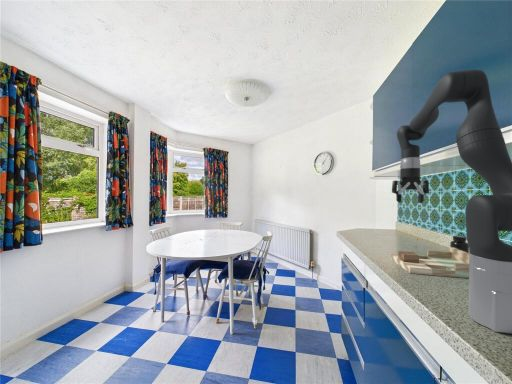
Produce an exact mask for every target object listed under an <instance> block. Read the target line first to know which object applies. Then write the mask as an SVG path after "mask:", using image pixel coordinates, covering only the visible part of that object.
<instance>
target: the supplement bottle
mask: <svg viewBox="0 0 512 384" xmlns="http://www.w3.org/2000/svg"><path fill="white" fill-rule="evenodd" d="M450 247H452V248H456V249H459V250H461V251H464V252H467V253H469V245H468V242H467V236H464V235H463V236H462V235H453V236H452V241H450V245H449V248H450Z"/></svg>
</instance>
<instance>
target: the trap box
mask: <svg viewBox="0 0 512 384" xmlns="http://www.w3.org/2000/svg"><path fill="white" fill-rule="evenodd" d="M390 259H391V260H392V261H393V262H395V263H396V264H397V265H398V266H400V267H401V268H402V269H404V270H405V271H406V272H408V273H409V274H413V275H427V276H439V277H450V278H460V279H462V278H463V279H469V253H467V252H464V251H461V250H459V249H456V248H452V247H450V246H449V251H447V250H429V249H428V250H427V251H426V255H419V263H410V262H403V261H402V260H400V259H399V258H398V253H390Z"/></svg>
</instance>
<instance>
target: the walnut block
mask: <svg viewBox="0 0 512 384" xmlns="http://www.w3.org/2000/svg"><path fill="white" fill-rule="evenodd" d="M397 254H398V258H399V259H400V260H402V261H403V262H410V263H419V256H420V255H419V254H418V253H416V252H414V251H408V250H397Z"/></svg>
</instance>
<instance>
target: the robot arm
mask: <svg viewBox="0 0 512 384" xmlns="http://www.w3.org/2000/svg"><path fill="white" fill-rule="evenodd" d="M462 102H463V103H464V104H465V105H466V109H467V115H466V117H465V119H464V121H463V122H462V124H461V125H460V127H459V128H458V130H457V133H456V135H455V141H456V146H457V150H458V153H459V156H460V158H461V160H462V161H463V162H464V163H465V165H467V166H468V167H470V169H472V170H473V171H474V172H475V173H477V174H478V175H479V176H481V178H483V179H484V180H485V182H486V183H487V185H488V186H489V188H490V190H491V192H492V194H477V195H474V196H472V197H470V198H469V200H467V203H466V205H465V229H466V230H465V232H466V233H465V234H466V236H465V237H466V242H467V243H468V245H469V278H468V317H469V318H470V319H471V320H472V321H474V322H476V323H477V324H479V325H482V326H483V327H486V328H488V329H490V330H492V331H493V332H495V333H496V332H497V333H504V334H510V335H512V245H511V244H508V243H505V242H504V241H502V240H501V239H500V235H499V231H501V232H512V160H511V156H510V153H509V150H508V147H507V145H506V144H507V143H506V141H505V138H504V135H503V132H502V130H501V127H500V124H499V122H498V119H497V116H496V114H495V113H496V112H495V110H494V107H493V103H492V97H491V91H490V84H489V80H488V76H487V74H486V72H485V71H483V70H482V69H466V70H456V71H451V72H447V73H446V74H444V75H443V76H442V77H441V78H440V79H439V81H437V84H436V85H435V86H434V88H433V90H432V91H431V93H430V95H428V98H427V99H426V102H425V103H424V105H423V107H422V108H421V109H420V111H419V112H418V113H417V114H416V115H415V116H414V117H413V118H412V119H411V121H410V122H409V124H405V125H401V126H400V127H399V128H398V129H397V131H396V137H397V141H398V143H399V148H400V150H401V151H400V157H401V158H400V163H399V164H400V167H399V169H400V175H399V177H400V180H397V179H396V180H395V179H394V180H392V183H391V184H392V185H391V186H392V187H391V193H393V194H395V195H396V196H395V198H396V199H395V200H396V202H397V203H402V194H403V192H404V191H406V190H408V191H410V190H411V191H412V190H414V192H415V191H416V192H417V194H418V195H417V202H418V203H419V204H423V202H424V198H425V197H424V195H426V194H429V193H430V186H429V180H426V179H424V180H421V158H420V157H421V151H420V150H421V148H420V146H419V144H418V145H417V144H413V143H410V141H419V140H421V139H423V138H424V137H425V134H426V132H427V130H428V129H429V128H430V127H431V126H432V125H433V124H434V123H436V121H437V120H438V118H439V115H440V111H439V106H440V105H442V104H444V103H450V104H451V103H462ZM399 185H400V187H399V188H398V186H399ZM420 185H421V186H422V188H421V186H420ZM418 203H417V204H418Z"/></svg>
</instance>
